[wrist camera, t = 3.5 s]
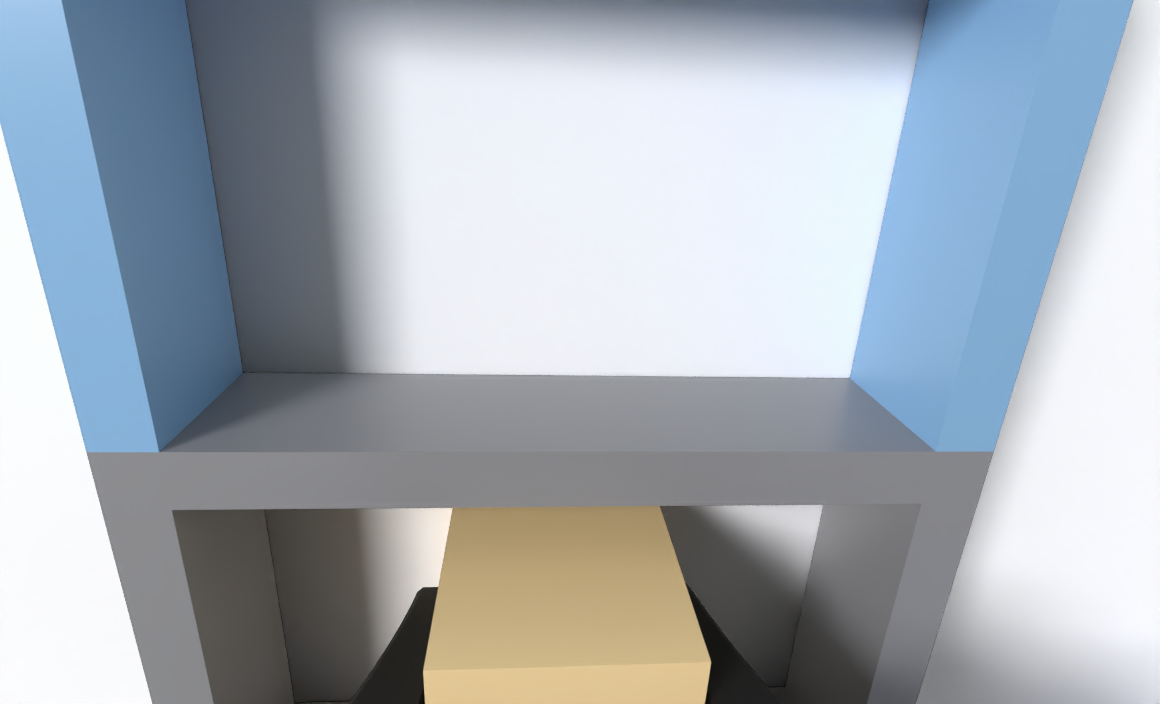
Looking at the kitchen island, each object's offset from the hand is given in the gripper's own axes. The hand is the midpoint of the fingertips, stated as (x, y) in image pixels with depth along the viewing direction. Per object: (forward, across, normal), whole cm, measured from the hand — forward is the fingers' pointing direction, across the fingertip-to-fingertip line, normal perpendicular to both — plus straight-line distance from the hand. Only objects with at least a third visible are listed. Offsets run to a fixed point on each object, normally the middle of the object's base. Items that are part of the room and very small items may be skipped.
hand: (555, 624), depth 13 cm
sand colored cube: (+2, 0, 0) cm, 2 cm away
